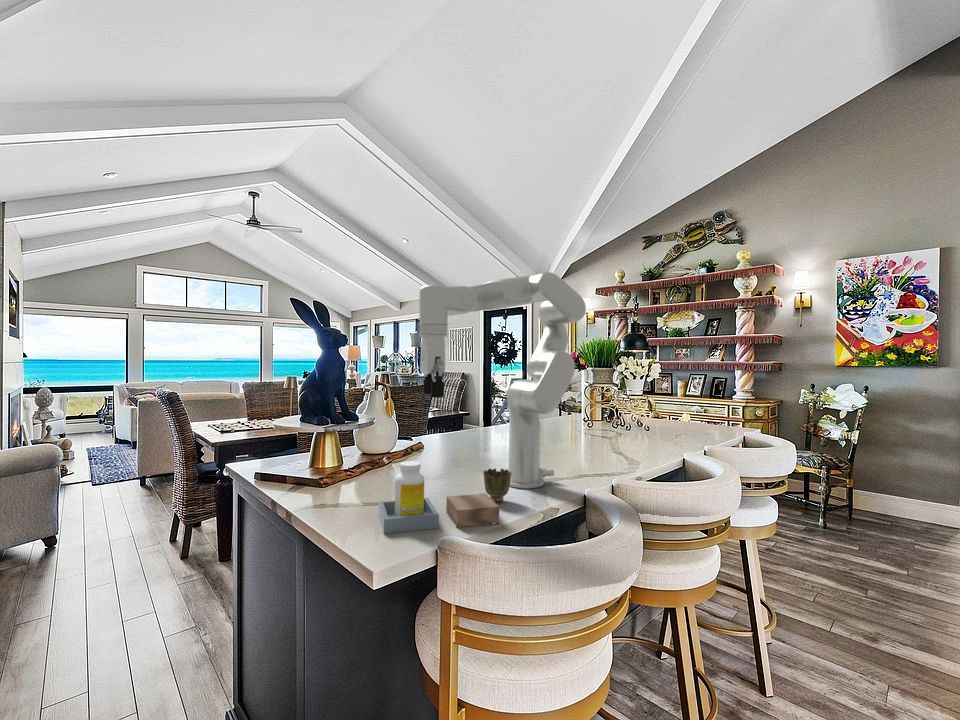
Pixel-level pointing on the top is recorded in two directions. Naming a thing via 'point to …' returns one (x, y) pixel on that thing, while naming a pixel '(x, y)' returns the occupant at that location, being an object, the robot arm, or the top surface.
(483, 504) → the walnut riser block
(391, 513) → the slate ceramic holder
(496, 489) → the cup
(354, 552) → the top surface
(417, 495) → the supplement bottle
